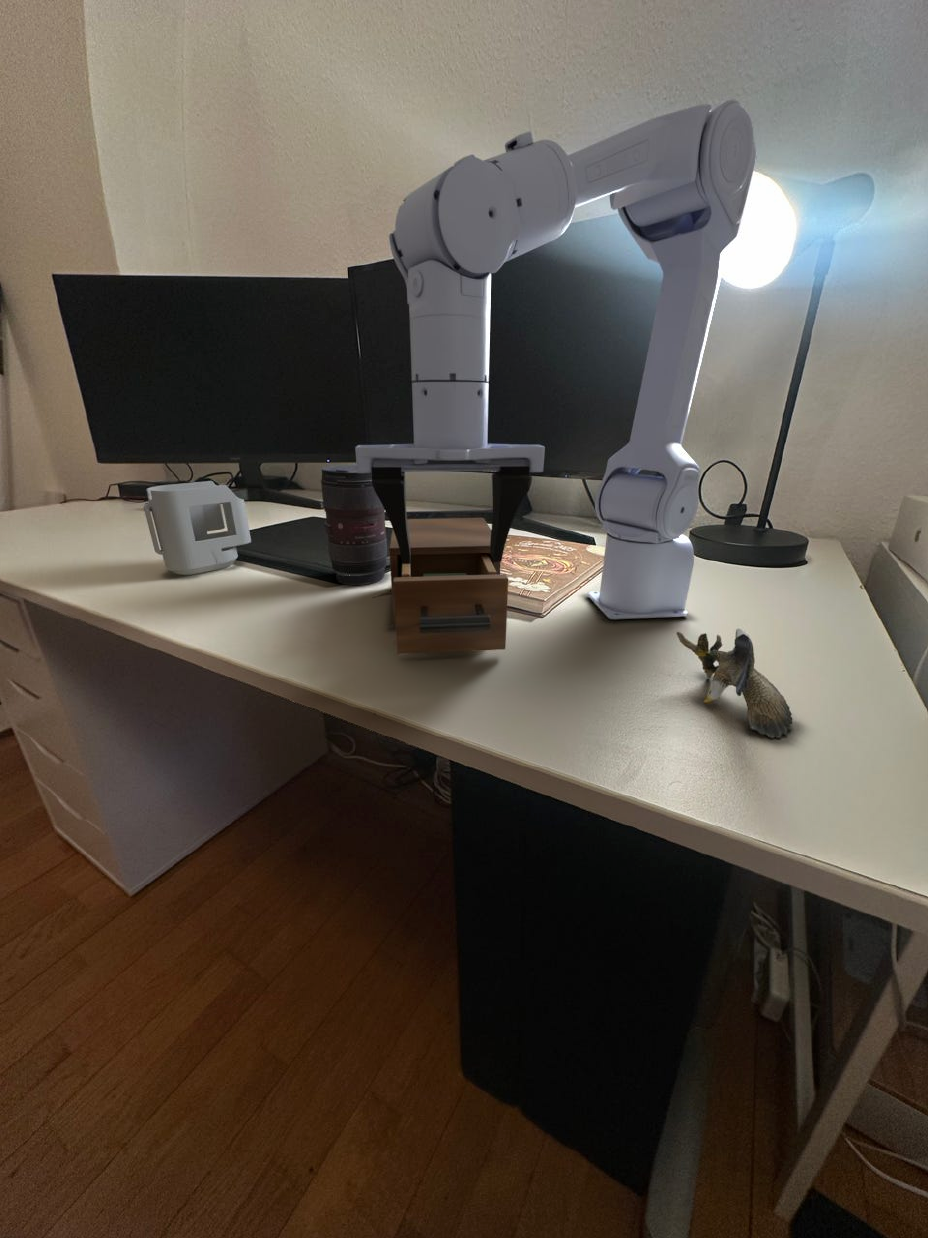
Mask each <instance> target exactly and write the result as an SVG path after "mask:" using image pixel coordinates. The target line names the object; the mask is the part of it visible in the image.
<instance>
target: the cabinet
mask: <svg viewBox="0 0 928 1238" xmlns="http://www.w3.org/2000/svg"><path fill="white" fill-rule="evenodd" d="M407 525H408V533H409V540H410V555H428V554H468V553H487V554H488V556H489V558H490V560H491V562H492V564H493V566H494V568H495V570H496V574H501V562H502V561H501V562H494V561H493V559H492V557H491V555H490V541H491V530H492V528H491V527H490V525H489V524H488V522H487V521H486V519H485V517H448V518H447V517H445V518H443V517H442V518H441V517H440V518H407ZM391 527H392V526H391ZM388 550H389V569H390V584H391V600H392V616H393V618H392V619H393V628H394V629H395V630H396V624H395V607H394V590H393V578H394V577H402V560H401V554H400V550H399V546H398V542H397V539H396V536H395V533H394V530H393V527H392V529H391V535H390V540H389V548H388Z"/></svg>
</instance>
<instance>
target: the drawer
mask: <svg viewBox="0 0 928 1238" xmlns="http://www.w3.org/2000/svg"><path fill="white" fill-rule="evenodd" d="M434 573H466V574H467V575H462V576H427V577H423V574H434ZM393 590H394V607H395V624H396V629H395V639H396V653H397V655H406V654H408V655H409V654H428V653H429V654H431V653H451V652H453V653H454V652H473V651H475V652H476V651H496V650H497V651H498V650H499V651H501V650H506V647H507V620H508V601H509V600H508V599H509V598H508V596H509V577H508V575H507V574H506V573H503V574H502V573H500V574H496V570H495V568H494V566H493V564H492V562H491V560H490V558H489V556H488V554H487V553H468V554H428V555H410V564H402V577H394V578H393Z"/></svg>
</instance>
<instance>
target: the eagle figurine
mask: <svg viewBox="0 0 928 1238" xmlns="http://www.w3.org/2000/svg"><path fill="white" fill-rule="evenodd" d="M676 636H677V638H678V640H679V642H680V643H681V644H682V645H683V646H684V647H686V648H687V649H689V650H691V651H692V652H693V653H694V654H695V655H696V656H697V658H698V659H699V661H700V662H701V665H702V670H703V671H704V672H703V673H704V674H705V675H706V678H708V679H711V678H712V681H711V684H710V686H709V689H708V693H707V696H706V698H705V699H703V703H705V704H709V703H710V702H711V701H713V700H717V699H719V698H720V697H721V696H722V694H723V692H724V691H725V689H727V688H728V687H729V686H732V687H735V693H736V695H737V696H738V697H741V696H742V695H743V698H744V700H745V703H746V706H747V717H748V718H747V719H748V724H749V728H750V729H751V730H755V731H757V732H758V734H759V735H766V736H767V737H769V738H771V739H774V738H777V739H780V738H782V736H783V735H787V734H788V730H791V728H792V726H791V725H793V717H792V716H793V714H792V712H791V710H790V706H789V704H787V700H786V699H785V697H784V696H783V694H782V693H781V692H780V691H779V690H778V688H777V687H776V686H775V685H774V684H773V683H772V682H771V681H770V680H769V679H768V678H766V677H765V675H764V674H762V673H761V672H759V671H758V670H757V669H756V668H755V664H756V663H755V652H754V651H755V649H754V645H753V641H752V638H750V636H749V634H748V633H747V631H745V630H744V629H742V628H740V627H737V628H736V630H735V638H734V646H733V648H732V650H729V651H725V650H720V649H721V648H722V647H723V642H722V637H721V635H719V634H716V639H715V643H714V644H712V646H711V647H710V646H709V639H708V635H707V633H701V634H700V635H699V636H698V638H697V642H696V644H695V643H693V642H692V641H690V640H689V639H688V638H687V637H685V635H684V634H683V633H682V632H681V631H676ZM709 647H710V648H709ZM716 662H717V663H718V665H716V666H715V664H714V663H716ZM712 676H713V677H712Z"/></svg>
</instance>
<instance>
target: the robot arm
mask: <svg viewBox="0 0 928 1238" xmlns="http://www.w3.org/2000/svg"><path fill="white" fill-rule="evenodd" d="M712 107H713V104H712V103H701V104H698V105H695V106H691V107H688V108H684V109H680V110H676V111H673V112H670V113H666V114H663V115H660V116H656V117H652V118H650V119H648V120H646V121H643V122H641V123H638V124H637V125H634V126H632V127H630V128H628V129H625V130H623V131H620V132H618V133H616V134H613V135H611V136H609V137H607V138H604V139H602V140H600V141H597V142H595V143H593V144H590V145H589V146H586V147H584V148H582V149H579V150H577V151H575V152H572V153H570V154H568V153H567V151H566V150H565V149H564V148H563V147H562V146H561V145H560V144H558V143H557V142H556V141H553V140H551V139H540V140H539V139H538V140H537V141H534V140H533V134H532V132H531V131H525V132H523V133H520V134H518V135H517V136H515V137H512V138H510V140H508V141H506V142H505V144H504V151H505V152H503V153H501V154H497V155H495V156H492V157H489V158H487V159H484V160H483V159H481V158H480V157H479V158H478V157H476V155H475V154H472V153H471V154H469V155H466V156H464V157H462V158H460V159H458V160H457V161H455V162H454V163H453V165H452V166H450V167H448V168H447V169H445V170H444V171H442V172H440V173H439V174H437V175H436V176H435V177H433V178H431V179H430V180H428V181H426V182H425V183H423V184H422V185H421V186H419V187H417V188H416V189H414V190H413V191H411V192H410V193H409V194H407V195H406V196H405V198H403V200H402V201H403V203H402V204H400V205H399V207H398V210H397V214H396V218H395V224H394V225H395V227H394V229H395V230H393V231H392V232H390V233H389V234H388V239H389V240H388V241H389V246H390V251H391V253H392V257H393V261H394V262H395V265H396V267H397V269H398V270H399V272H400V274H401V275H402V277H403V280H404V282H405V287H406V300H407V301H406V302H407V305H408V311H409V312H408V313H409V314H408V316H409V340H410V341H409V342H410V344H409V345H410V368H411V369H410V370H411V395H412V396H411V397H412V424H413V443H396V444H395V443H394V444H358V445H356V446H355V448H354V449H355V460H356V461H355V463H356V465H357V473H372V481H371V483H372V486H373V488H374V490H375V493H376V494H377V496H378V498H379V500H380V501H381V503H382V505H383V507H384V509H385V510H384V512H385V513H386V516H387V518H388V521H389V523H390V525H391V527H393V530H394V533H395V536H396V539H397V542H398V546H399V550H400V554H401V560H402V564H410V540H409V533H408V525H407V519H408V516H407V491H406V488H407V486H406V472H407V473H408V472H413V473H414V472H415V473H417V472H423V473H424V472H493V473H492V474H491V488H492V518H491V519H492V520H491V541H490V555H491V557H492V559H493V561H494V562H502V561H503V556H504V551H505V547H506V543H507V539H508V536H509V533H510V530H511V527H512V525H513V523H514V520H515V518H516V515H517V513H518V511H519V509H520V507H521V505H522V504H523V502H524V500H525V498H526V496H527V495H528V493H529V492H530V489H531V486H532V482H533V476H532V475H530V473H543V472H544V464H545V451H546V450H545V449H546V447H545V446H544V445H541V444H517V443H516V444H515V443H513V444H511V443H488V435H489V434H488V432H489V387H490V385H489V381H490V341H491V339H490V338H491V334H490V333H491V299H492V297H491V296H492V295H491V292H492V291H491V290H492V274H496V273H497V272H498V271H499V270H500V269H501V268H502V267H503V265H504V263H506V262H509V261H511V260H514V259H515V258H518V257H520V256H522V255H524V254H526V253H528V252H531V251H532V250H535V249H537V248H540V247H541V246H543V245H546V244H548V243H550V242H553V241H555V240H557V239H558V238H560V237H561V236H562V235H563V234H564V233H565V232H566V230H567V229H568V227H569V226H570V224H571V222H572V219H573V217H574V213H575V209H576V208H578V207H580V206H583V205H586V204H588V203H590V202H594V201H596V200H598V199H601V198H604V197H607V196H609V204H610V209H612V210H613V211H616V210H617V211H618V214H619V217H620V219H621V222H622V223H623V225H624V227H625V228H626V230H627V231H628V232H629V234H630V236H632V238H633V240H634V241H635V242H636V244H637V246H639V248H640V250H641V251H642V253H643V254H644V255H645V257H646V259H647V260H649V261H651V262H654V263H657V264H659V266H660V269H661V271H662V280H661V284H660V285H661V286H660V290H659V295H658V300H657V305H656V310H655V314H654V319H653V324H652V330H651V335H650V340H649V344H648V349H647V354H646V359H645V363H644V369H643V374H642V378H641V384H640V389H639V394H638V398H637V404H636V409H635V414H634V419H633V423H632V428H631V433H630V438H629V442H628V443H626V444H625V445H624V446H623V447H622V448H621V449H619V450H618V451H616V452H615V453H614V454H612V456H610V457H609V458H608V460H607V463H606V468H605V472H604V475H603V477H602V480H601V482H600V483H599V485H598V487H597V490H596V493H595V497H594V510H595V514H596V517H597V518H598V520H599V521H600V522H601V523H602V528H601V529H602V531H603V532H606V539H605V547H604V555H603V556H604V557H603V564H602V570H601V571H602V572H601V580H600V587H599V588H600V589H599V590H597V591H593V590H592V591H588V592H587V596H588V598H589V599H590V600H591V601H592V602H593V603H594V605H596V606H597V607H598V609H600V611H601V613H603V614H604V615H605V616H606V618H608V619H609V620H628V619H629V620H630V619H654V618H656V619H657V618H681V617H683V618H684V617H688V614H689V613H688V611H687V610H686V605H687V601H688V595H689V590H690V586H691V581H692V575H693V571H694V564H695V552H694V551H695V550H694V546H693V544H692V541H691V540H690V538H689V537H687V536H686V535H685V534H684V533H685V532H686V531H687V530H688V529H690V527H691V526H692V523H693V522H694V520H695V518H696V515H697V511H698V507H699V494H698V493H699V491H698V490H699V481H700V476H701V472H702V469H701V468H700V466H699V465H698V464H697V462H696V461H695V460H694V459H693V458H692V457H691V456H690V455H689V454H688V453H687V451H686V450H685V449H684V448H683V447H682V444H683V439H684V436H685V431H686V428H687V423H688V419H689V415H690V410H691V406H692V402H693V397H694V394H695V388H696V384H697V380H698V376H699V372H700V367H701V365H702V359H703V355H704V351H705V347H706V343H707V339H708V334H709V329H710V326H711V322H712V317H713V312H714V308H715V304H716V300H717V295H718V291H719V288H720V283H721V279H722V275H723V271H724V266H725V262H726V258H727V254H728V253H727V252H728V247H729V246H730V245H731V244H732V242H734V241H735V239H737V237H738V235H739V231H740V227H741V223H742V219H743V216H744V212H745V208H746V203H747V200H748V196H749V191H750V187H751V183H752V179H753V174H754V171H755V167H756V161H757V150H756V142H755V138H754V128H753V122H752V119H751V117H750V114H749V112H748V111H747V109H746V107H745V106H744V104H743V103H742V102H741V101H740V100H738V99H735V98H730V99H726V100H724V101H722V102H721V103H719V104H718V105H717V106H716V107H715V108H713V109H712ZM428 461H448V462H449V461H451V462H452V461H453V462H455V461H457V462H458V461H473V462H475V463H429V462H428ZM643 470H644V471H649V472H658V473H660V474H662V475H663V476H659V475H650V474H643V473H639V472H640V471H643Z"/></svg>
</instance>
